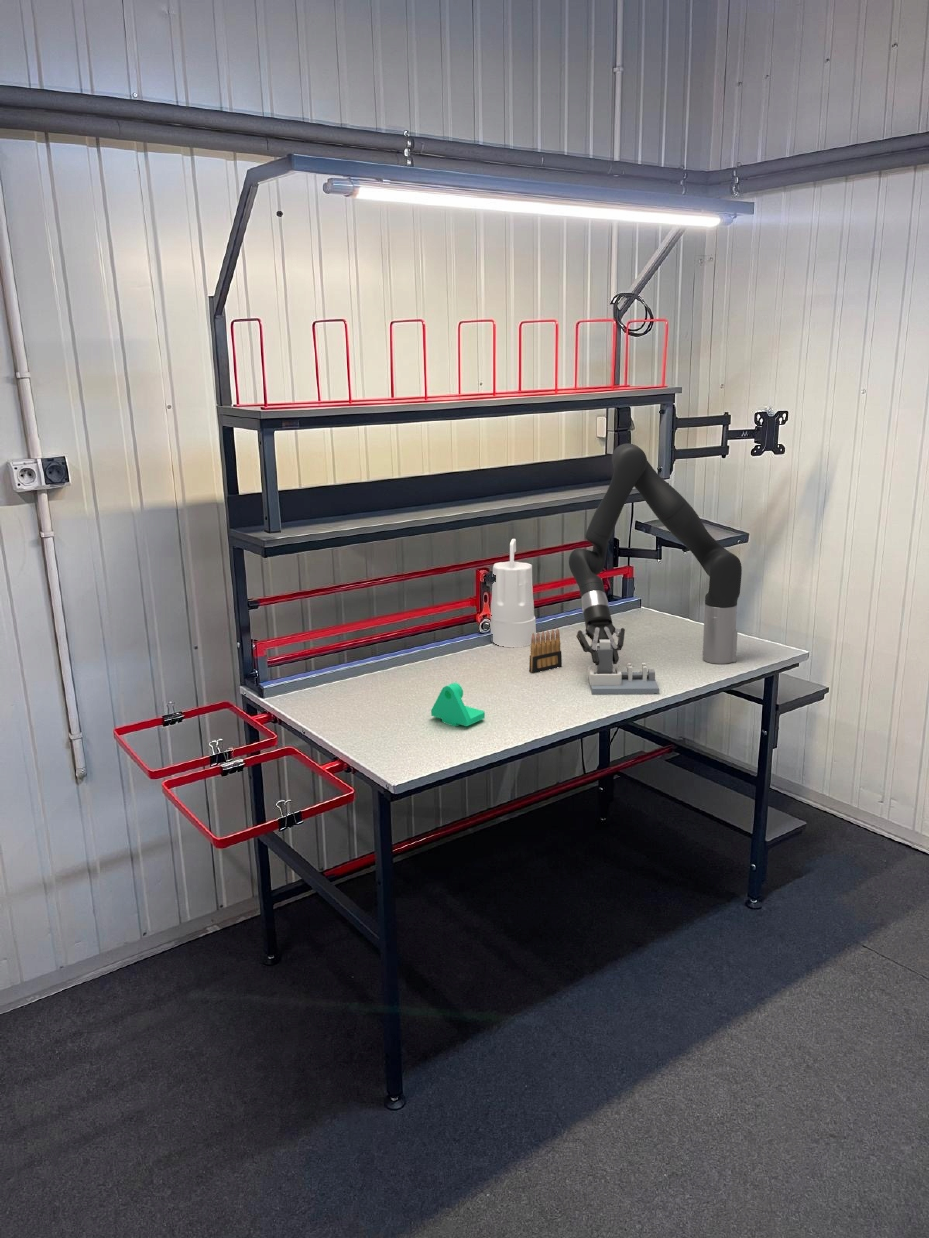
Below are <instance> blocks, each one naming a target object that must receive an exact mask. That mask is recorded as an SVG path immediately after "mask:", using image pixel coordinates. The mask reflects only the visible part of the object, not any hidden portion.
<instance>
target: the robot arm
mask: <svg viewBox="0 0 929 1238" xmlns="http://www.w3.org/2000/svg"><path fill="white" fill-rule="evenodd" d="M611 463H612V467H613V469H614V470H613V474H612V477H611V480H610V483H609V486H608V488H607V490H606V492H605V494H604V496H603V498H602V499H601V501H600V503H599V504H598V506H597V508H596V509H595V512H594V513H593V516H592V518H591V520H590V522H589V525H588V527H587V529H586V531H585V535H584V536H585V540H586V541H587V542H589V543H590V544H592V550H588V549H585V548H582V547H581V548H579V547H578V548H574V549H573V550H572V551H571V553H570V554H569V557H568V567H569V570H570V572H571V574H572V576H573V578H574V580H575V582H576V585H577V586H578V588H579V595H580V598H581V611H582V612H581V613H582V614H583V620H584V625H585V629H584V630H578V631H577V633H576V639H577V640H578V643H579V644H580V647H581V648H582V650H583V652H584V653H590V655H591V661H592V663H593V664H594V665H595V666H597V665H599V657H598V652H597V646H598V644H599V640H607V639H610V642H611V646H612V649H613V665H617V663H618V662H619V660H620V656H619V651H622V649H623V646H624V640H625V633H626V632H625V631H626V629H625V627H622V628H620V629H619V628H616V626H615V625H614V624H613V620H612V615H611V610H610V605H609V601H608V597H607V594H606V590H605V586H604V585H605V584H604V581H603V579H602V578H601V576H598V575H599V574H600V573H602V571H603V570H604V568H605V564H606V559H607V553H608V547H609V543H610V542H609V541H610V539H611V537H612V536H613V535H612V534H613V532H614V529H615V527H616V525H617V522H618V520H619V517H620V515H621V513H622V511H623V509H624V506H625V503H626V502H627V500H628V498H629V496H630V495H631V493H632V491H633V489H634V488H635V489H636V491H637V492H638V493H639V494H640V495H641V497H642V498H643V500H644V501H645V503H646V504H647V505H648V507H649V509H650V510H651V511H652V512H653V513H654V515H655V516H656V518H657V519H658V520H659V521H660V522H661V523H662V524H663V526H664V527H665V528H666V529H667V530H668V531H669V532H670V533H671V534H672V535H673V536H674V537H675V538H676V539H677V540H678V541H679V542H680V543H681V544H683V546H685V547H686V548H687V549H688V550H689V551H690V552H691V554H693V556H694V558H695V559H696V560H697V562H698V563H699V564H700V566H701V567H702V569H703V570H704V572H705V573H706V574H707V575H708V577H709V582H708V583H709V584H708V592H707V593H706V594H705V597H704V613H703V615H704V616H703V636H702V641H703V642H702V660H703V661H705V662H706V663H710V664H717V665H719V664H721V665H722V664H723V665H724V664H731V663H736V662H737V650H738V649H737V648H738V630H737V613H738V612H737V610H738V600H739V597H740V595H741V588H742V587H741V586H742V584H741V583H742V573H743V567H742V562H741V560H740V558H739V557H738V556H737V555H735V554H734V553H732V552H730V551H729V550H727V549H726V548H725V547H723V545H721V544H720V542H718V541H717V540H716V539H715V538H714V536H712V535H711V534H710V532H708V530H707V529H706V526H705V525H704V522H703V521H702V519H701V518H700V517H699V515H698V513H697V512H696V511H695V509H694V508H693V507H692V506H691V504H690V503H689V501H687V500H686V499H685V497H683V496H682V494H681V493H679V492H678V491H677V490H676V489H675V488H674V487H673V486H672V485H671V484H669V482H667V481H666V480H665V479H663V477H662V476H660V474H658V473H657V471H656V470H655V469H654V468H653V466H652V465H651V464H650V462H649V460H648V457H647V455H646V453H645V451H644V450H643V449H642V448H640V447H639V446H638V445H635V444H633V443H623V444H620V445H618V446H617V447H616V448H614V450H613V452H612V456H611ZM614 634H615V635H616V637H617V643H616V641H615V638H614V637H613V635H614ZM586 637H588V638H589V639H590V640H591V645H589V643H588V641H587V638H586Z"/></svg>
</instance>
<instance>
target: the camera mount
mask: <svg viewBox="0 0 929 1238" xmlns="http://www.w3.org/2000/svg"><path fill="white" fill-rule="evenodd" d="M463 697H464V690H463V688H462V686H461V685H460V684H459V683H457V682H453V683H450V684H448V685H445V686H443V687H442V689H441V691H440V692H439V694H438V696H437V699H436V700H435V702H434V704H433V706H432V708H431V709H430V711H431V712H430V713H431V715H430V716H431V717H435V718H437V719H441V723H443V722H445V723H444V724H446V723H447V724H446V725H449V724H450V726H453V727H458V726H460V725H461V726H464V727H468V726H471V725H473V724H475V723H477V722H480V721H482V720H483V719H485V718H486V716H485V715H486V714H485V713H486V712H485V711H484V710H482V709H479V708H475V707H472V706H467V705H465V704H464V701H463V699H462V698H463Z"/></svg>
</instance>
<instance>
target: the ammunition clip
mask: <svg viewBox="0 0 929 1238" xmlns="http://www.w3.org/2000/svg"><path fill="white" fill-rule="evenodd" d="M545 634H546V635H545ZM560 635H561V634H560V629H559V628H558V627H557V628H556V631H555V629H554V628H552V629H551V632H550V631H549V630H546V633H545V632H544V631H543V630H542V631H541V635H540V632H539V631H537V632H536V642H535V635H534V633H533V634H532V638H531V645H530V654H529V670H528V672H529V673H531V674H537V673H541V672H540V671H542V672H546V671H550V670H549V669H551V670H554V668H555V669H558V668H557V667H559V668H562V667H563V662H562V661H563V658H562V650H561V637H560Z"/></svg>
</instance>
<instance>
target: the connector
mask: <svg viewBox="0 0 929 1238" xmlns="http://www.w3.org/2000/svg"><path fill="white" fill-rule="evenodd" d="M598 644H599V645H597V647H596V650H597V652H598V657H599V665H596V672H597V674H613V669H614V668H613V667H614V664H613V649H612V646H611V642H610V639H607V640H599V643H598Z"/></svg>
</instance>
